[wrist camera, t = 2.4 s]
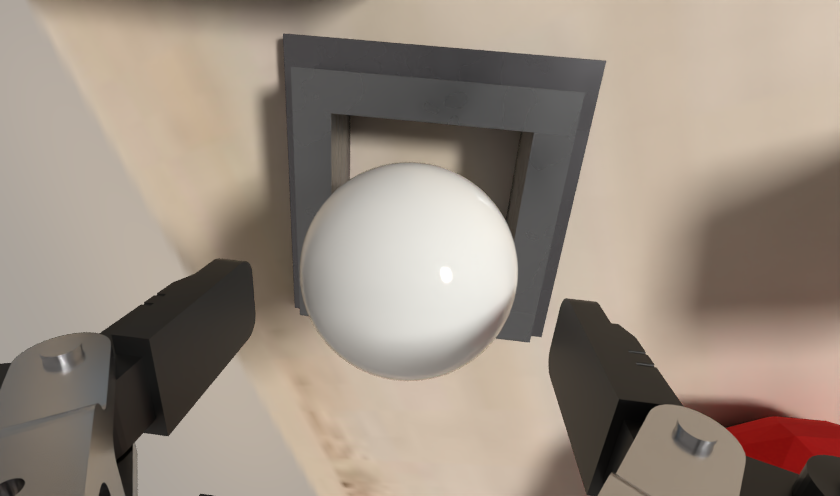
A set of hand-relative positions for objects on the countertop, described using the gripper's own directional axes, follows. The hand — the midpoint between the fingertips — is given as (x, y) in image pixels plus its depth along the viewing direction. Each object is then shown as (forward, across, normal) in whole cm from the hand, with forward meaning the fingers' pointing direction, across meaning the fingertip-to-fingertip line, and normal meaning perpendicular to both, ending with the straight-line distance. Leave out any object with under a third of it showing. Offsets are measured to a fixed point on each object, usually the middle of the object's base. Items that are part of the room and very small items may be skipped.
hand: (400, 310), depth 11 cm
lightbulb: (+10, 0, 0) cm, 10 cm away
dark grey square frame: (+10, 0, 0) cm, 10 cm away
